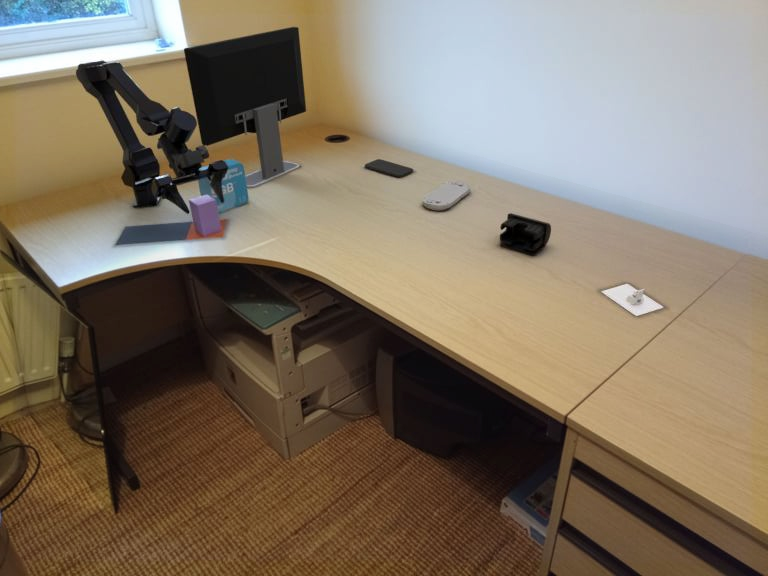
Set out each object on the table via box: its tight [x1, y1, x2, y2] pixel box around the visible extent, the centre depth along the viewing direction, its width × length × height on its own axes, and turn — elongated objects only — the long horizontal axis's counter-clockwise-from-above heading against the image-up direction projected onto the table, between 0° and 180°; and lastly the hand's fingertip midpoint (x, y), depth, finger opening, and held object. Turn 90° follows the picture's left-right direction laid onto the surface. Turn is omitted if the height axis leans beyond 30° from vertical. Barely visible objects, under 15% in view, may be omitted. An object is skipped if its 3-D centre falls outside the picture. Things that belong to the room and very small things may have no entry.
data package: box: [197, 158, 249, 213], centre depth 160 cm, size 12×4×12 cm, turn 135°
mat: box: [114, 218, 228, 246], centre depth 150 cm, size 26×10×1 cm, turn 97°
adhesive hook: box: [625, 288, 645, 305], centre depth 117 cm, size 3×3×3 cm
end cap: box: [499, 212, 552, 257], centre depth 138 cm, size 10×7×7 cm
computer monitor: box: [183, 26, 307, 188], centre depth 173 cm, size 41×8×40 cm, turn 144°
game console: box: [422, 180, 471, 212], centre depth 163 cm, size 18×2×8 cm
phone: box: [364, 158, 414, 178], centre depth 184 cm, size 7×1×15 cm
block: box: [188, 194, 222, 237], centre depth 148 cm, size 5×5×8 cm
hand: (206, 207), depth 145 cm, fingers open, 9 cm apart
